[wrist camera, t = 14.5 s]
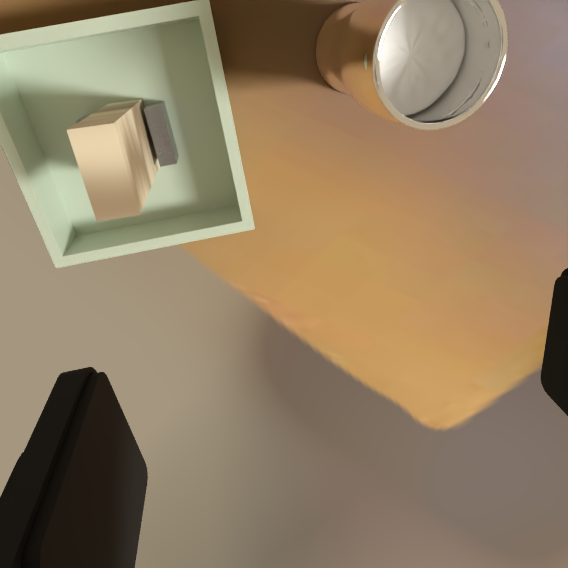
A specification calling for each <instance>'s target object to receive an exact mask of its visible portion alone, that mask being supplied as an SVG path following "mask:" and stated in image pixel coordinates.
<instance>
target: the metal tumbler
mask: <svg viewBox="0 0 568 568" xmlns="http://www.w3.org/2000/svg"><path fill="white" fill-rule="evenodd" d="M507 50H508V28H507V22H506V18H505V14H504V11H503V9H502V7H501V5H500V3H499V1H498V0H364V1H363V2H362V3H350V4H347V5H344V6H342V7H340V8H338V9H337V10H335V11H334V12H333V13H332V14H331V15H330V16H329V17H328V18H327V19H326V21H325V22H324V24H323V26H322V27H321V29H320V32H319V35H318V38H317V42H316V61H317V65H318V68H319V71H320V73H321V75H322V77H323V78H324V80H325V81H326V82H327V83H328V84H329V85H330V86H331V87H332V88H334V89H336V90H337V91H340V92H342V93H347V94H350V95H351V96H352V97H353V98H354V99H355V101H356V102H357V103H358V104H359V105H360V106H362V107H363V108H364V109H365V110H367V111H369V112H370V113H372V114H374V115H375V116H377V117H379V118H382V119H384V120H387V121H390V122H393V123H396V124H401V125H405V126H409V127H412V128H415V129H420V130H438V129H443V128H447V127H450V126H453V125H455V124H457V123H459V122H461V121H463V120H464V119H466V118H467V117H469V116H470V115H471V114H473V113H474V112H475V111H476V110H477V109H478V108H479V107H480V106H481V105H482V104H483V103H484V102H485V101H486V100H487V98H488V97H489V96H490V94H491V93H492V91H493V90H494V88H495V86H496V84H497V82H498V80H499V78H500V76H501V73H502V71H503V68H504V64H505V61H506V56H507Z"/></svg>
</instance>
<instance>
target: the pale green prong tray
mask: <svg viewBox="0 0 568 568" xmlns="http://www.w3.org/2000/svg"><path fill="white" fill-rule="evenodd" d="M142 98H143V102H144V106H145V107H146V106H147V105H148V104H151V103H157V102H162V101H165V105H166V109H167V113H168V116H169V120H170V124H171V128H172V132H173V135H174V139H175V143H176V147H177V150H178V154H179V157H178V161H177V164H172V165H167V166H162V167H160V164H159V170H158V172H157V175H156V177H155V179H154V182H153V184H152V187H151V189H150V191H149V194H148V196H147V199H146V201H145V203H144V206H143V208H142V211H141V213H140V215H136V216H130V217H123V218H117V219H110V220H104V221H96V218H95V215H94V212H93V209H92V206H91V203H90V200H89V197H88V194H87V191H86V188H85V185H84V182H83V179H82V176H81V173H80V169H79V166H78V163H77V160H76V157H75V154H74V151H73V148H72V145H71V142H70V139H69V136H68V133H67V129H69V128H70V127H72V126H73V125H75V124H76V121H77V120H79V119H80V118H82V117H83V116H86V115H91V114H92V113H94V112H96V111H97V110H99V109H100V108H102V107H104V106H105V105H107V104H108V103H113V102H120V101H127V100H135V99H142ZM0 144H1V146H2V148H3V150H4V153H5V155H6V157H7V159H8V162H9V164H10V166H11V168H12V171H13V173H14V175H15V177H16V180H17V182H18V184H19V186H20V189H21V190H22V193H23V195H24V198H25V200H26V202H27V204H28V206H29V209H30V211H31V213H32V215H33V218H34V220H35V222H36V224H37V227H38V229H39V231H40V233H41V235H42V238H43V240H44V242H45V244H46V247H47V249H48V251H49V253H50V255H51V258H52V260H53V262H54V265H55V267H56V268H60V267H65V266H70V265H75V264H80V263H85V262H90V261H95V260H100V259H106V258H111V257H115V256H121V255H126V254H130V253H136V252H141V251H146V250H151V249H156V248H161V247H166V246H171V245H177V244H182V243H187V242H192V241H197V240H202V239H207V238H212V237H217V236H222V235H227V234H232V233H237V232H242V231H247V230H253V229H255V227H254V222H253V217H252V212H251V207H250V202H249V197H248V192H247V187H246V182H245V177H244V172H243V167H242V162H241V157H240V152H239V147H238V142H237V137H236V132H235V127H234V122H233V117H232V112H231V107H230V102H229V97H228V92H227V87H226V82H225V77H224V72H223V67H222V62H221V57H220V52H219V47H218V42H217V37H216V32H215V27H214V22H213V17H212V12H211V7H210V2H209V0H196V1H190V2H184V3H179V4H173V5H167V6H161V7H156V8H150V9H144V10H138V11H133V12H127V13H121V14H115V15H110V16H104V17H98V18H92V19H87V20H81V21H75V22H70V23H64V24H58V25H52V26H47V27H41V28H35V29H29V30H24V31H18V32H12V33H6V34H1V35H0ZM156 155H157V154H156ZM157 159H158V157H157ZM158 163H159V161H158Z"/></svg>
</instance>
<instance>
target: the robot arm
mask: <svg viewBox="0 0 568 568" xmlns="http://www.w3.org/2000/svg"><path fill="white" fill-rule="evenodd" d="M541 383H542V386H543V388H544V390H545V392H546V393H547V394H548V395H549V396H550V397H551V399H552V400H553V401H554V402H555V403H556V404H557V405H558V406H559V407H560V408H561V409H562V410H563V411H564V412H565V413H566V414H567V416H568V268H567V269H565V270H564V271H563V272H562V274H561V277H559V278H557V280H556V281H555V285H554V291H553V298H552V305H551V311H550V318H549V325H548V331H547V338H546V344H545V351H544V358H543V364H542V371H541ZM147 478H148V476H147V467H146V463H145V461H144V459H143V456H142V454H141V452H140V449H139V447H138V445H137V443H136V440H135V438H134V436H133V434H132V431H131V429H130V427H129V425H128V422H127V420H126V418H125V416H124V413H123V411H122V409H121V407H120V404H119V402H118V400H117V397H116V395H115V393H114V391H113V388H112V386H111V384H110V382H109V380H108V377H107V375H106V374H105V373H104V372H99V373H97V372H96V370H95V369H94V368H92V367H88V368H83V369H78V370H73V371H68V372H63V373H61V374H60V375H59V377H58V378H57V381H56V383H55V385H54V387H53V389H52V392H51V394H50V396H49V398H48V400H47V402H46V405H45V407H44V409H43V411H42V414H41V416H40V418H39V420H38V422H37V424H36V427H35V429H34V431H33V433H32V435H31V438H30V440H29V442H28V444H27V446H26V448H25V450H24V452H23V453H22V454H21V456H20V457H19V459H18V461H17V463H16V465H15V467H14V469H13V471H12V473H11V476H10V478H9V480H8V482H7V484H6V486H5V489H4V491H3V493H2V495H1V497H0V568H135V560H136V554H137V548H138V547H137V546H138V540H139V534H140V527H141V521H142V513H143V507H144V501H145V494H146V487H147Z"/></svg>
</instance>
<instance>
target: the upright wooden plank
mask: <svg viewBox="0 0 568 568" xmlns="http://www.w3.org/2000/svg"><path fill="white" fill-rule="evenodd" d="M144 108H145V106H144V102H143V98H142V99H135V100H127V101H120V102H113V103H108V104H107V105H105V106H104V107H102V108H100V109H99V110H97V111H96V112H94V113H92V114H91V115H89V116H88V117H86V118H84V119H83V120H81V121H80V122H78V123H76V124H75V125H73V126H72V127H70V128H69V129H67V133H68V136H69V139H70V142H71V145H72V148H73V151H74V154H75V157H76V160H77V163H78V166H79V169H80V173H81V176H82V179H83V182H84V185H85V188H86V191H87V194H88V197H89V200H90V203H91V206H92V209H93V212H94V215H95V218H96V221H104V220H110V219H117V218H123V217H130V216H136V215H140V213H141V211H142V208H143V206H144V203H145V201H146V199H147V196H148V194H149V191H150V189H151V187H152V184H153V182H154V179H155V177H156V175H157V172H158V170H159V163H158V159H157V155H156V151H155V147H154V144H153V140H152V137H151V133H150V130H149V126H148V123H147V119H146V116H145V112H144Z"/></svg>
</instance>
